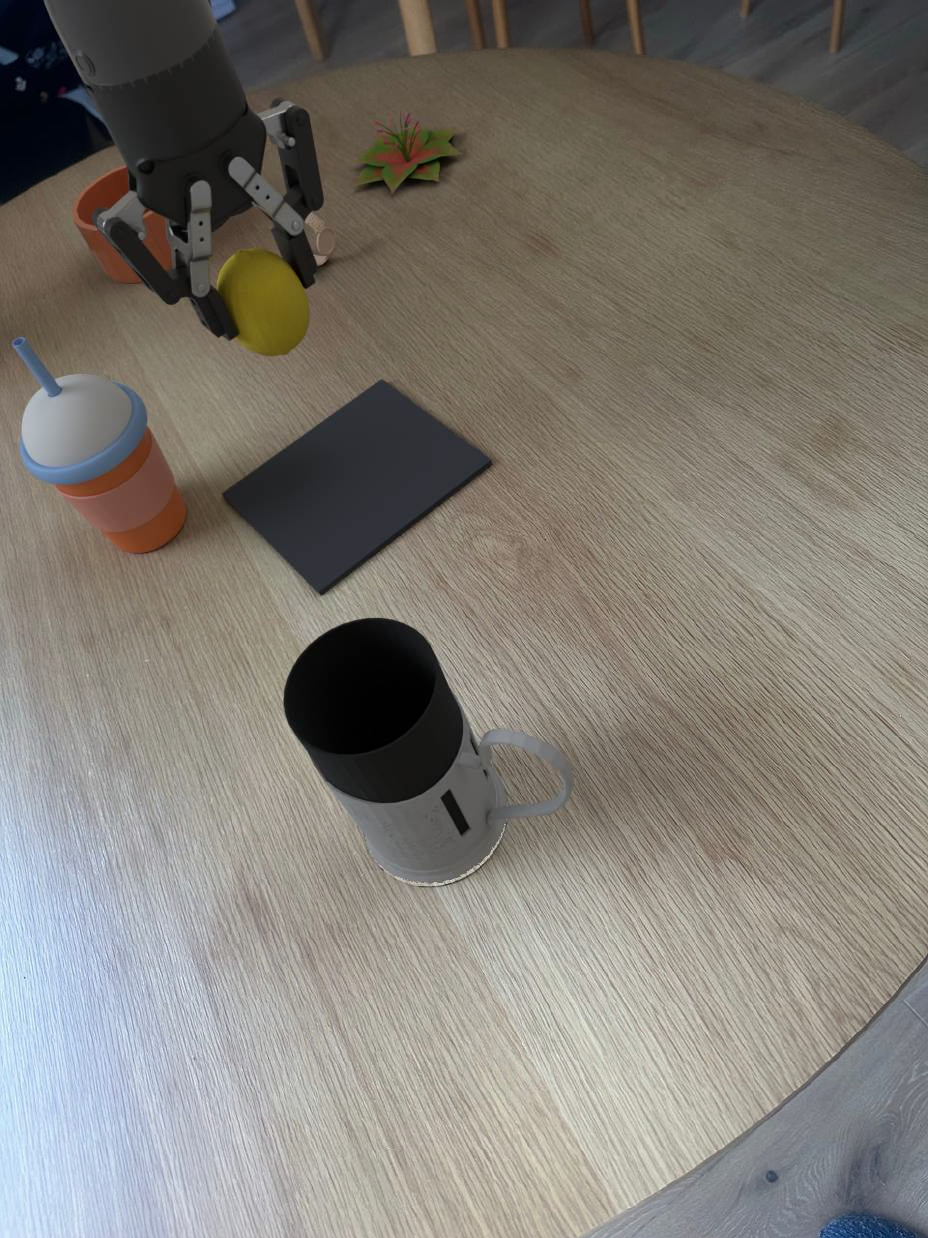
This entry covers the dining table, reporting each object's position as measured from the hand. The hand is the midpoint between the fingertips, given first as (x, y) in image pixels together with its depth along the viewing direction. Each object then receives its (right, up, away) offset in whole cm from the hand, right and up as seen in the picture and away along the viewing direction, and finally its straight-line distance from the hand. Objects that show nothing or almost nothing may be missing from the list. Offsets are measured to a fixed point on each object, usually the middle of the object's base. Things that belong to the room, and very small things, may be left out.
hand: (265, 306), depth 64 cm
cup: (-18, +17, +36) cm, 44 cm away
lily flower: (+7, +25, +35) cm, 44 cm away
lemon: (+1, -2, +3) cm, 4 cm away
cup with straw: (-12, -13, +13) cm, 22 cm away
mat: (+4, -10, +11) cm, 15 cm away
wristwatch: (-1, +13, +29) cm, 32 cm away
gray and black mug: (+14, -32, -7) cm, 36 cm away
